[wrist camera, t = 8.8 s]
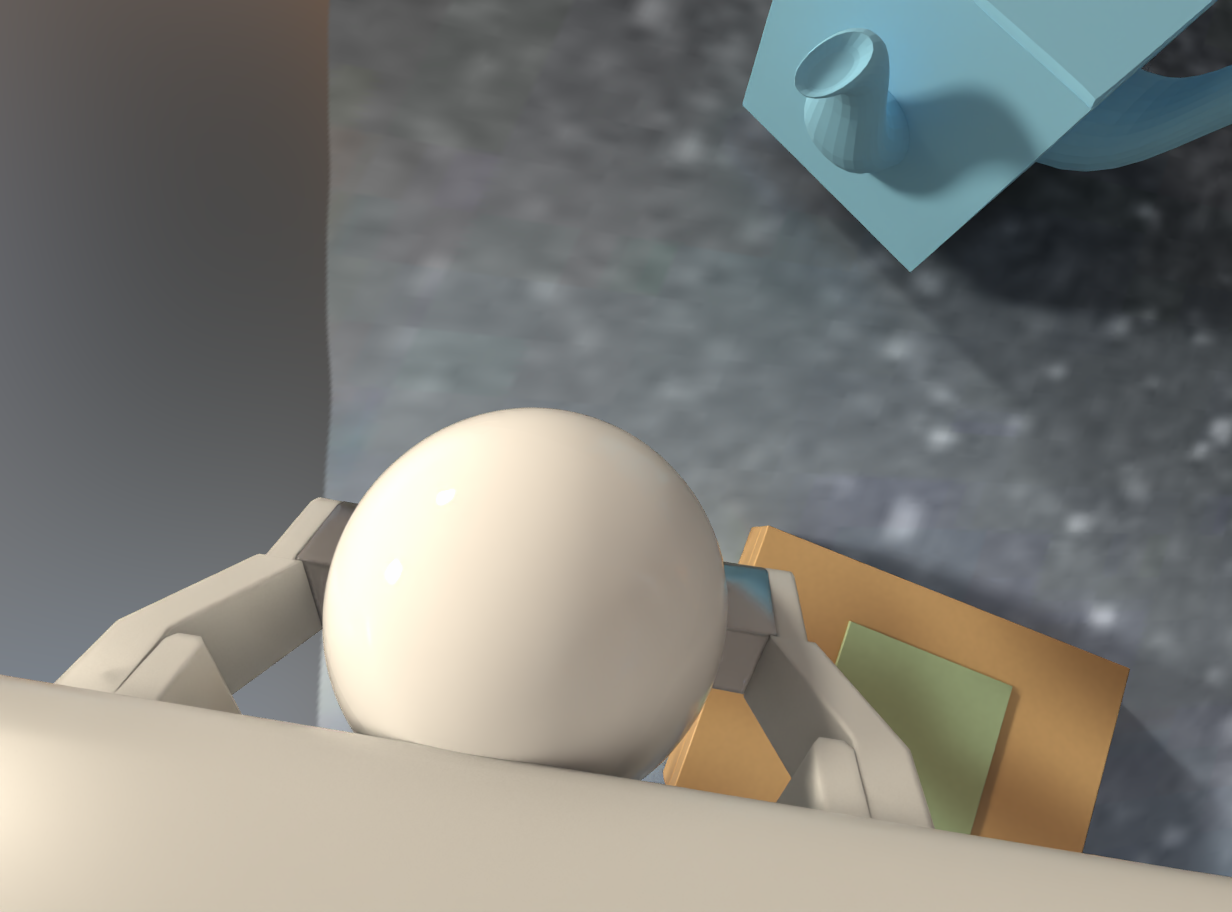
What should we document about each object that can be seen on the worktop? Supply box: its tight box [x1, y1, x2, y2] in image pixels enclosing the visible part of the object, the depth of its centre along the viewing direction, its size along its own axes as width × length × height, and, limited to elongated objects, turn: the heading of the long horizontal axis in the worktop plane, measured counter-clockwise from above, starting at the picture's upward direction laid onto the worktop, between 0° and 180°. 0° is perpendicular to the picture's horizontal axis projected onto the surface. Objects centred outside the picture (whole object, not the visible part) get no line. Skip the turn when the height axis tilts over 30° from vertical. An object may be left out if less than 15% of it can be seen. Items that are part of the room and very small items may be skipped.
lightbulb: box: [322, 408, 728, 780], centre depth 12 cm, size 6×6×11 cm
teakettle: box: [743, 0, 1232, 272], centre depth 23 cm, size 19×19×15 cm
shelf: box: [663, 526, 1130, 853], centre depth 25 cm, size 12×16×3 cm
